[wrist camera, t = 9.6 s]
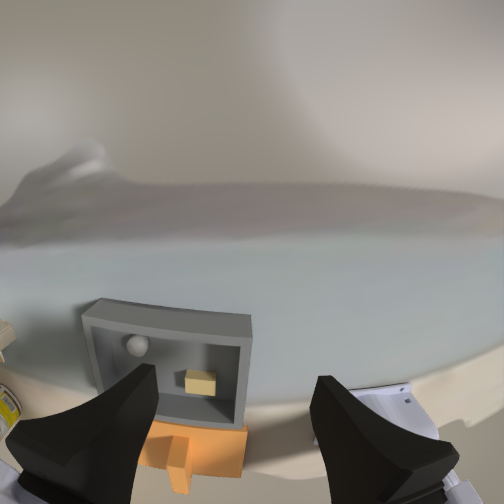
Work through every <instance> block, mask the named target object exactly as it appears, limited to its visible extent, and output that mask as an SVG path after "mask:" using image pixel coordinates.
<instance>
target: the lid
mask: <svg viewBox="0 0 504 504" xmlns="http://www.w3.org/2000/svg"><path fill="white" fill-rule="evenodd" d="M247 433H248V427H247V426H243V427H242V430H240V429H224V428H212V427H202V426H194V425H186V424H179V423H172V422H166V421H161V420H155V419H154V420H153V422H152V425H151V428H150V430H149V433H148V435H147V438H146V440H145V443H144V445H143V448H142V451H141V453H140V457H139V460H138V464H141V465H145V466H149V467H154V468H159V469H165V470H168V474H169V478H170V482H171V485H172V489H173V492H175V493H181V494H189V490H190V483H191V476H192V474H197V475H206V476H217V477H234V478H241V474H242V467H243V461H244V454H245V447H246V440H247Z"/></svg>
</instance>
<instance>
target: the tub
mask: <svg viewBox="0 0 504 504" xmlns="http://www.w3.org/2000/svg"><path fill="white" fill-rule="evenodd" d="M81 316H82V323H83V329H84V334H85V340H86V345H87V350H88V354H89V359H90V363H91V368H92V372H93V376H94V380H95V383H96V387H97V391H98V394H99V395H100V394H102V393H103V392H105V391H106V390H108V389H109V388H111V387H112V386H113V385H115V384H116V383H117V382H119V381H120V380H121V379H123V378H124V377H125V376H127V375H128V374H129V373H130V372H132V371H133V370H134V369H135V368H136V367H138V366H139V365H140V364H142V363H146V364H152V365H155V367H156V376H157V385H158V393H159V401H158V406H157V410H156V414H155V417H154V419H155V420H161V421H166V422H172V423H179V424H186V425H194V426H202V427H212V428H224V429H240V430H242V427H243V419H244V410H245V401H246V393H247V384H248V375H249V366H250V357H251V348H252V339H253V336H252V323H251V315H246V314H232V313H220V312H209V311H199V310H189V309H180V308H171V307H163V306H155V305H147V304H140V303H133V302H126V301H119V300H113V299H106V298H101V299H100V300H99V301H98V302H96V303H95V304H94V305H93V306H92V307H90V308H89V309H88V310H87V311H86V312H84V313H83V314H82V315H81Z"/></svg>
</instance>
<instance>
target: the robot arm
mask: <svg viewBox="0 0 504 504" xmlns="http://www.w3.org/2000/svg"><path fill="white" fill-rule="evenodd" d="M412 387H413V385H412V383H404V384H398V385H392V386H385V387H378V388H369V389H360V390H350V391H348V390H347V389H346V388H345V387H344V386H343V385H341V384H340V383H339V382H338V381H337V380H336V379H335V378H334V377H333V376H331V375H329V376H318V380H317V383H316V387H315V390H314V394H313V397H312V401H311V404H310V407H309V408H310V415H311V421H312V426H313V429H314V432H315V435H316V436H315V439H314V444H315V445H319V448H320V451H321V454H322V457H323V460H324V463H325V467H326V471H327V476H328V482H329V488H330V494H331V503H332V504H483V502H482V500H481V499H480V498H479V496H478V494H477V493H476V491H475V489H474V488H473V486H472V485H471V483H470V482H469V480H465V481H463V482H461V481H460V480H459V478H458V477H457V475H456V473H455V472H454V470H453V468H454V466H455V465H456V463H457V462H458V460H459V454H458V452H457V451H456V450H455V448H454V447H453V445H452V444H451V443H450V442H446V441H441V440H439V435H438V430H437V428H436V425H435V424H434V422H433V421H432V419H431V418H430V417H429V415H428V414H427V413H426V411H425V410H424V409H423V407H422V406H421V405H420V403H419V402H418V401H417V400H416V398H415V397H414V396H413V394H412V393H411V389H412ZM158 401H159V393H158V385H157V376H156V367H155V365H152V364H146V363H142V364H140V365H139V366H138V367H136V368H135V369H134V370H133V371H132V372H130V373H129V374H128V375H127V376H125V377H124V378H123V379H121V380H120V381H119V382H117V383H116V384H115V385H113V386H112V387H111V388H109V389H108V390H106V391H105V392H103V393H102V394H100V395H99V396H97V397H95V398H93V399H92V400H90V401H88V402H86V403H84V404H82V405H80V406H77V407H75V408H72V409H70V410H67V411H64V412H61V413H58V414H55V415H51V416H47V417H42V418H37V419H29V420H20V421H19V422H18V423H17V424H16V426H15V427H14V428H13V430H12V431H11V432H10V434H9V435H8V436H7V437H6V439H5V442H6V446H7V448H8V449H9V451H10V452H11V454H12V455H13V457H14V458H15V459H16V461H17V462H18V463H19V464H20V466H21V467H22V468H23V469H24V470H23V472H22V473H21V474H20V473H19V472H18V471H17V470H16V469H14V468H13V467H12V466H10V465H8V464H7V463H6V462H4V461H3V460H1V459H0V504H130V501H131V494H132V488H133V482H134V478H135V473H136V468H137V464H138V460H139V457H140V453H141V451H142V448H143V445H144V443H145V440H146V438H147V435H148V433H149V430H150V428H151V425H152V422H153V420H154V417H155V414H156V410H157V406H158Z"/></svg>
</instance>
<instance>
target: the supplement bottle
mask: <svg viewBox="0 0 504 504" xmlns="http://www.w3.org/2000/svg"><path fill="white" fill-rule="evenodd" d="M21 412H22V409H21V406H20V404H19V402H18V400H17V399H16V397H15V396H14V395H13V394H12V392H11V391H10V390H8V389H7V388H6V387H5V386H3V385H1V384H0V441H1V440H2V438H3V437H4V435H5V434H6V433H7V431H8V430H9V429H10V427H11V426H12V425H13V424H14V422H15V421H16V420H17V418H18V417H19V416H20V415H21Z"/></svg>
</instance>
